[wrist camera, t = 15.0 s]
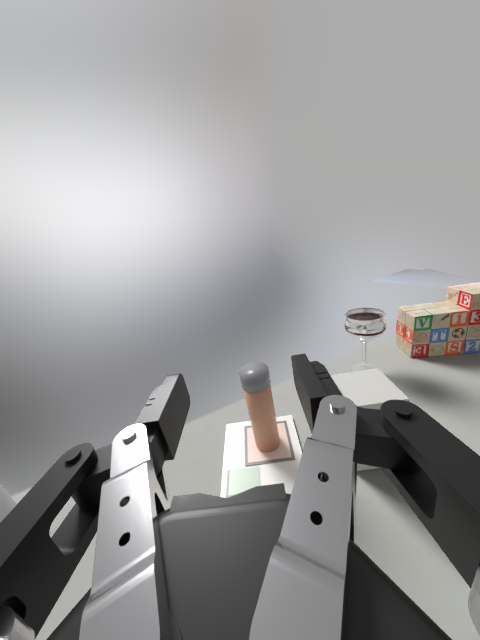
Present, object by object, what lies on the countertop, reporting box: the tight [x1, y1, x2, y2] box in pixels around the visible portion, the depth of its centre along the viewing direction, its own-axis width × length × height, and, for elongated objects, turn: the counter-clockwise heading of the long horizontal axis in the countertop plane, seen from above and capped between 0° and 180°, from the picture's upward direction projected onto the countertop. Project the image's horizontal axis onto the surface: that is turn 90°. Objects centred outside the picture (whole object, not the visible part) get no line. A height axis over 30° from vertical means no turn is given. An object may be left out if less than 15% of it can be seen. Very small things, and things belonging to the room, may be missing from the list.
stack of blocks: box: [396, 282, 480, 358], centre depth 45 cm, size 21×6×12 cm, turn 83°
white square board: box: [221, 415, 302, 498], centre depth 32 cm, size 11×12×1 cm
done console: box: [331, 368, 409, 471], centre depth 29 cm, size 6×6×10 cm
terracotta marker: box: [239, 362, 280, 452], centre depth 32 cm, size 4×4×12 cm
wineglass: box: [344, 308, 386, 372], centre depth 44 cm, size 7×7×12 cm
